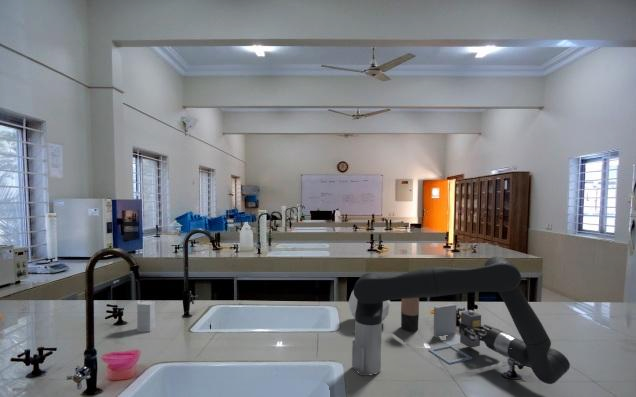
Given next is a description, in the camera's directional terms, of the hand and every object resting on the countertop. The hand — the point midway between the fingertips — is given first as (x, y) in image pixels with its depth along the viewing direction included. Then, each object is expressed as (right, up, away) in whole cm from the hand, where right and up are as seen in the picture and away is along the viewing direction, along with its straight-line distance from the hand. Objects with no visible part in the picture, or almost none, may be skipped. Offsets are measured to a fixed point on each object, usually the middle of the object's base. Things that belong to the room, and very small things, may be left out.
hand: (465, 325), depth 135 cm
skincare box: (-134, -8, +15) cm, 135 cm away
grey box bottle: (+1, -7, -2) cm, 7 cm away
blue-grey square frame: (-9, -10, -7) cm, 15 cm away
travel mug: (-18, -9, +17) cm, 26 cm away
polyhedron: (-34, -9, +26) cm, 44 cm away
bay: (-3, -10, +7) cm, 12 cm away
